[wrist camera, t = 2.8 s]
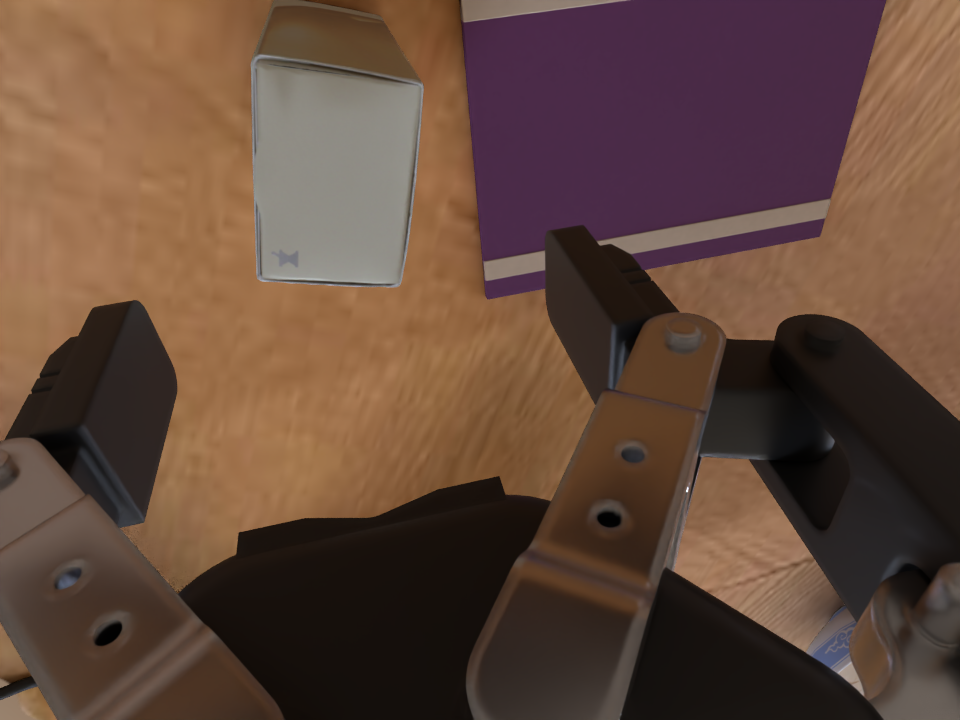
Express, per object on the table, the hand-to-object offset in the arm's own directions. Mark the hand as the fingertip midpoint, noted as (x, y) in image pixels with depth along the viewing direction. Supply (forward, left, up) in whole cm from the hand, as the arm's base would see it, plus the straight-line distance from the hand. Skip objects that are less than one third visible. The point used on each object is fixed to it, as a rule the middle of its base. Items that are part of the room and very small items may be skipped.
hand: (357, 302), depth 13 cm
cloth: (+16, -4, -18) cm, 24 cm away
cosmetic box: (0, 0, -18) cm, 18 cm away
